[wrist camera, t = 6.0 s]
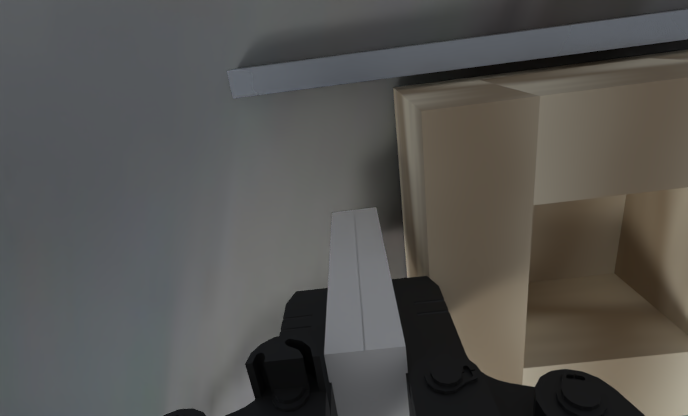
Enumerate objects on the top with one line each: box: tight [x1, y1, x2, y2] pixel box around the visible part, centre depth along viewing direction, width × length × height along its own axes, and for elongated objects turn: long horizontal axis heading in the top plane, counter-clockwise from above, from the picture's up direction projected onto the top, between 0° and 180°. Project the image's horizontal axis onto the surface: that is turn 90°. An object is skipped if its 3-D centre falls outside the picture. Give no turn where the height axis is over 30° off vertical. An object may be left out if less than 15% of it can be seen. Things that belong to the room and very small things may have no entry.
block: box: [393, 49, 688, 416], centre depth 12 cm, size 10×10×5 cm
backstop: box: [227, 8, 688, 98], centre depth 11 cm, size 23×12×8 cm, turn 97°
